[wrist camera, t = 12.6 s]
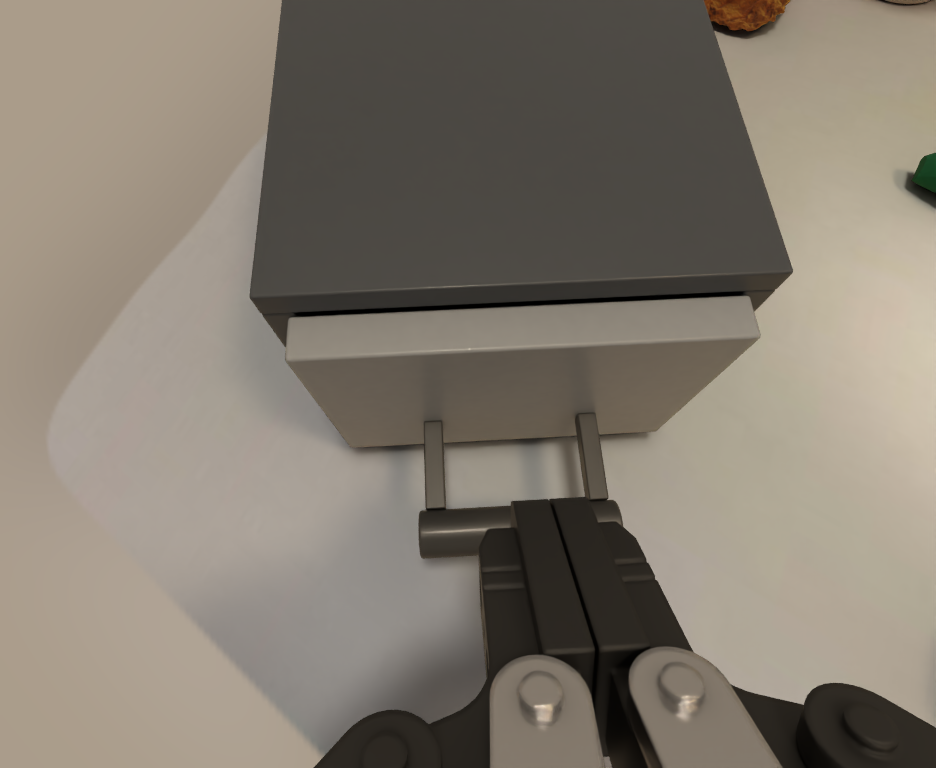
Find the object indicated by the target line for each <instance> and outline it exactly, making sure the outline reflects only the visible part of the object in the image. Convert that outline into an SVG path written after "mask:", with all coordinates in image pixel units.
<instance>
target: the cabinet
mask: <svg viewBox="0 0 936 768" xmlns="http://www.w3.org/2000/svg"><path fill="white" fill-rule="evenodd" d="M792 273H793V269H792V266H791V263H790V260H789V257H788V254H787V251H786V248H785V245H784V242H783V239H782V236H781V233H780V230H779V227H778V224H777V221H776V218H775V214H774V211H773V208H772V205H771V202H770V199H769V196H768V193H767V190H766V187H765V184H764V181H763V178H762V175H761V172H760V169H759V166H758V163H757V160H756V157H755V154H754V151H753V148H752V145H751V142H750V139H749V136H748V133H747V130H746V127H745V124H744V121H743V118H742V115H741V112H740V109H739V106H738V103H737V100H736V96H735V93H734V90H733V87H732V84H731V81H730V78H729V75H728V72H727V69H726V66H725V63H724V60H723V57H722V54H721V51H720V48H719V45H718V42H717V39H716V36H715V33H714V30H713V27H712V24H711V21H710V18H709V15H708V12H707V9H706V6H705V3H704V0H282V7H281V15H280V24H279V33H278V42H277V52H276V61H275V70H274V79H273V88H272V97H271V106H270V115H269V125H268V133H267V143H266V152H265V161H264V170H263V179H262V188H261V197H260V206H259V216H258V225H257V234H256V243H255V252H254V261H253V270H252V279H251V289H250V299H251V300H252V302H253V303H254V304H255V306H256V307H257V309H258V310H259V311H260V313H262V315H263V317H264V318H265V319H266V321H267V322H268V324H269V325H270V326H271V328H272V329H273V331H274V332H275V333H276V335H277V336H278V338H279V339H280V340H281V342H282V343H283V345H284V346H285V347H286V341H287V328H288V320H289V318H291V317H311V316H332V315H340V314H339V312H338V310H355V309H376V308H397V307H418V306H439V305H460V304H481V303H502V302H523V301H544V300H565V299H586V298H607V297H628V296H649V295H670V294H680V295H679V297H678V298H677V299H687V298H708V297H729V296H749V297H750V300H751V303H752V307H753V310H754V311H755V310H756V309H757V308H758V307H759V306H760V305H761V304H762V303H763V302H764V301H765V300H766V299H767V298H768V297H769V296H770V295H771V294H772V293H773V292H774V291H775V289H777V288H778V287H779V286H780V285H781V284H782V283H783V282H784V281H785V280H786V279H787V278H788V277H789V276H790V275H791V274H792Z"/></svg>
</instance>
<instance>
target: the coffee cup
mask: <svg viewBox="0 0 936 768" xmlns="http://www.w3.org/2000/svg"><path fill="white" fill-rule="evenodd" d="M885 1H889V2H894V3H901V4H917V3H923V2H927V1H930V0H885Z"/></svg>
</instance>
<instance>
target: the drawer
mask: <svg viewBox="0 0 936 768" xmlns="http://www.w3.org/2000/svg"><path fill="white" fill-rule="evenodd" d="M679 295H680V294H670V295H649V296H628V297H607V298H586V299H565V300H544V301H523V302H502V303H481V304H460V305H439V306H418V307H397V308H376V309H355V310H338V312H339V314H340V315H332V316H311V317H291V318H289V320H288V328H287V341H286V354H285V360H286V362H287V364H288V365H289V366H290V367H291V369H292V370H293V371H294V373H295V374H296V375H297V377H298V378H299V379H300V381H301V382H302V383H303V385H304V386H305V387H306V389H307V390H308V391H309V393H310V394H311V395H312V397H313V398H314V399H315V401H316V402H317V403H318V405H319V406H320V407H321V409H322V410H323V411H324V413H325V414H326V415H327V417H328V418H329V419H330V421H331V422H332V423H333V424H334V426H335V427H336V428H337V430H338V431H339V432H340V434H341V435H342V436H343V438H344V439H345V440H346V442H347V443H348V444H349V446H350V447H352V448H355V447H373V446H392V445H411V444H424V460H425V498H426V509H427V510H425V511H420V514H419V548H420V555H421V558H423V559H425V558H442V557H459V556H476V555H479V545H480V543H481V541H482V539H483V537H484V535H485V533H486V531H487V529H493V528H510V527H511V506H496V507H478V508H461V509H446V495H445V471H444V446H443V443H448V442H467V441H485V440H504V439H523V438H542V437H560V436H577V440H578V448H579V455H580V462H581V470H582V477H583V484H584V492H585V497H587V498H588V499H589V501H590V504H591V506H592V508H593V511H594V513H595V515H596V518H597V520H598V522H613V521H617V522H618V523H619V524H620V525H621V526H622V527H623V522H622V516H621V512H620V509H619V507H618V505H617V503H616V502H615V501H614V500H607V499H608V491H607V484H606V478H605V471H604V465H603V458H602V451H601V445H600V438H599V434H616V433H635V432H654V431H657V430H658V429H659V428H660V427H661V426H662V425H663V424H665V423H666V422H667V421H668V420H669V419H670V418H671V417H672V416H673V415H675V414H676V413H677V412H678V411H679V410H680V409H681V408H682V407H684V406H685V405H686V404H687V403H688V402H689V401H690V400H691V399H692V398H694V397H695V396H696V395H697V394H698V393H699V392H700V391H701V390H702V389H704V388H705V387H706V386H707V385H708V384H709V383H710V382H711V381H713V380H714V379H715V378H716V377H717V376H718V375H719V374H720V373H721V372H723V371H724V370H725V369H726V368H727V367H728V366H729V365H730V364H731V363H733V362H734V361H735V360H736V359H737V358H738V357H739V356H740V355H741V354H743V353H744V352H745V351H746V350H747V349H748V348H749V347H750V346H752V345H753V344H754V343H755V342H756V341H757V340H758V339H759V338H760V331H759V327H758V324H757V320H756V317H755V313H754V310H753V307H752V303H751V300H750V297H749V296H729V297H708V298H687V299H677V298H678V297H679Z"/></svg>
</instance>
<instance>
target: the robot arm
mask: <svg viewBox="0 0 936 768" xmlns="http://www.w3.org/2000/svg"><path fill="white" fill-rule="evenodd" d="M479 577H480V607H481V619H482V630H483V642H484V653H485V665H486V677H487V679H486V682H485V684H484V686H483V688H482V690H481V692H480V693H479V694H478V695H477V697H476V698H475V699H474V700H473V701H472V702H471V703H470V704H469V705H467V706H466V707H464V708H463V709H462V710H460V711H458V712H456V713H454V714H452V715H450V716H447V717H445V718H443V719H440V720H438V721H435V722H433V723H431V724H427V723H426V722H425V721H424V720H423V719H422V718H420V717H418V716H416V715H415V714H412V713H409V712H406V711H401V710H386V711H381V712H377V713H374V714H371V715H369V716H367V717H365V718H363V719H362V720H360V721H359V722H357V723H356V724H355V725H353V726H352V727H351V728H350V729H349V730H348V731H347V732H346V733H345V734H344V735H343V736H342V737H341V738H340V740H339V741H338V742H337V743H336V744H335V745H334V746H333V747H332V748H331V749H330V751H329V752H328V753H327V754H326V755H325V756H324V757H323V758H322V759H321V760H320V761H319V763H318V764H317V765H316V766H315V767H314V768H605V764H604V759H603V757H606V756H609V757H610V761H611V764H612V768H936V728H935V727H933V726H932V725H930V724H928V723H926V722H925V721H923V720H921V719H920V718H918V717H916V716H914V715H913V714H911V713H909V712H907V711H906V710H904V709H902V708H901V707H899V706H897V705H895V704H894V703H892V702H890V701H888V700H887V699H885V698H883V697H881V696H879V695H877V694H875V693H873V692H871V691H868V690H866V689H863V688H860V687H857V686H854V685H849V684H843V683H829V684H823V685H820V686H817V687H816V688H814V689H813V690H812V691H811V692H810V693H809V694H808V695H807V698H806V700H805V703H804V705H802V704H798V703H793V702H789V701H785V700H780V699H776V698H771V697H767V696H763V695H758V694H754V693H751V692H748V691H745V690H742V689H740V688H737V687H735V686H733V685H731V684H730V683H729V682H728V680H727V679H726V678H725V676H724V675H723V674H722V673H721V672H720V671H719V670H718V669H717V668H716V667H715V666H714V665H713V664H712V663H710V662H709V661H708V660H706V659H704V658H703V657H701V656H699V655H697V654H695V653H694V652H693V650H692V648H691V647H690V645H689V643H688V641H687V639H686V637H685V635H684V633H683V631H682V629H681V627H680V625H679V623H678V621H677V619H676V617H675V615H674V613H673V611H672V609H671V607H670V605H669V603H668V601H667V599H666V597H665V595H664V593H663V591H662V589H661V587H660V585H659V583H658V581H657V580H655V575H654V573H653V571H652V569H651V567H650V565H649V563H647V562H646V557H645V555H644V554H643V552H642V550H641V548H640V546H639V544H638V542H637V540H636V538H635V537H634V536H633V535H632V534H630V533H629V532H628V531H627V530H626V529H625V528H624V527H622V526H621V525H620V524H619V523H618V522H617V521H613V522H598V520H597V518H596V515H595V513H594V511H593V508H592V506H591V504H590V501H589V499H588V498H587V497H577V498H558V499H550V500H548V499H543V500H525V501H511V527H510V528H493V529H487V531H486V533H485V535H484V537H483V539H482V541H481V543H480V545H479Z"/></svg>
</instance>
